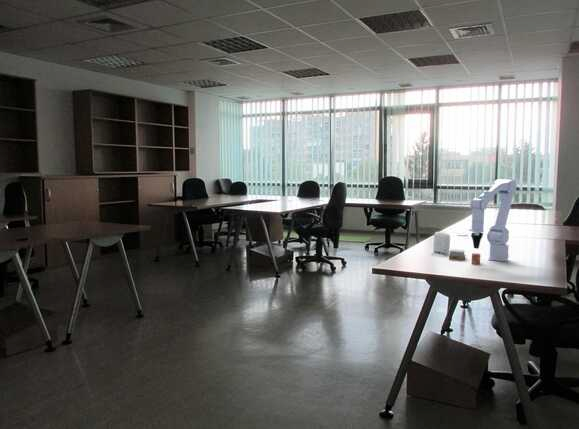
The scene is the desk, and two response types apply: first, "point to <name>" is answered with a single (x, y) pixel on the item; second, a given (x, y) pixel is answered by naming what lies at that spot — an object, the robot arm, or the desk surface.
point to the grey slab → (456, 252)
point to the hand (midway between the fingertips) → (476, 247)
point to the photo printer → (441, 242)
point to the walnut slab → (457, 257)
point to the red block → (475, 258)
